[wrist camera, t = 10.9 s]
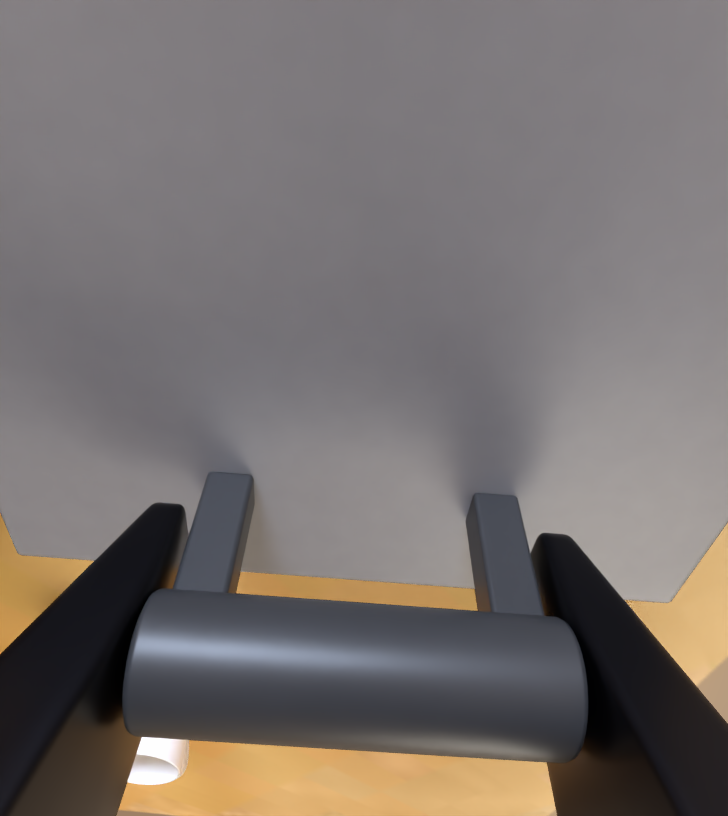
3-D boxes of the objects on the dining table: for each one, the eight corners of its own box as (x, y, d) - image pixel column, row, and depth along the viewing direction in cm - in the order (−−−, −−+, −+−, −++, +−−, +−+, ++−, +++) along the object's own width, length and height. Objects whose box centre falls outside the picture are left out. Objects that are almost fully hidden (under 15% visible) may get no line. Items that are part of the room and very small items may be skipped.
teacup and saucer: (38, 602, 24) (-14, 709, 21) (243, 608, 24) (222, 716, 21) (98, 707, 29) (64, 803, 26) (264, 711, 29) (250, 808, 26)
